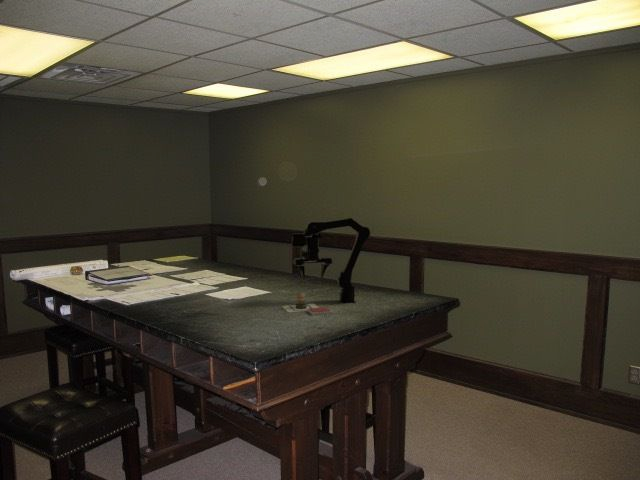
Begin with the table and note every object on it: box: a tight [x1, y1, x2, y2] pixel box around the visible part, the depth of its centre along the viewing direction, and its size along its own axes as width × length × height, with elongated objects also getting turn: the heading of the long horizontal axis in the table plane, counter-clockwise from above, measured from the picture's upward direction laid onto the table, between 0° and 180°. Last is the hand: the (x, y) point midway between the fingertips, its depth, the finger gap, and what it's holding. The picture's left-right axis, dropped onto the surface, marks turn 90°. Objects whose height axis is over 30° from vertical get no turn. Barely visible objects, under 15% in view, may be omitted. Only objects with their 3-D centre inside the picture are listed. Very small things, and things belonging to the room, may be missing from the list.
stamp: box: [295, 291, 308, 309], centre depth 240 cm, size 5×5×8 cm
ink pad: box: [306, 306, 334, 316], centre depth 233 cm, size 10×8×2 cm
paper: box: [281, 303, 320, 314], centre depth 240 cm, size 16×12×1 cm
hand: (312, 278), depth 252 cm, fingers open, 9 cm apart
